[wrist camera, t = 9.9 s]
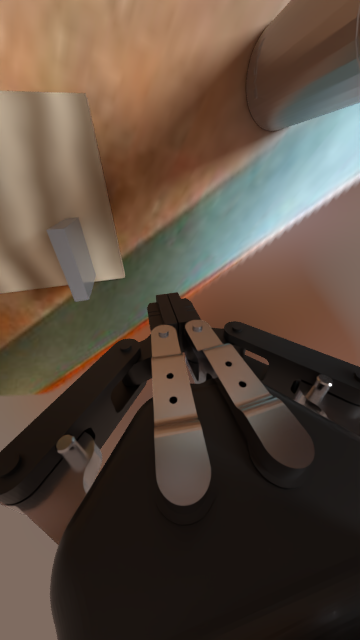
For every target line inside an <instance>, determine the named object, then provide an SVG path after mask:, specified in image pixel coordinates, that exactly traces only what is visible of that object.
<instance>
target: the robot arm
mask: <svg viewBox="0 0 360 640" xmlns="http://www.w3.org/2000/svg"><path fill="white" fill-rule="evenodd" d="M246 93H247V102H248V106H249V110H250V113H251V115H252V117H253V119H254V120H255V122H256V123H257V124H258V125H259V126H260V127H261V128H263V129H265V130H268V131H277V130H280V129H283V128H286V127H289V126H292V125H295V124H298V123H301V122H304V121H307V120H310V119H313V118H316V117H319V116H322V115H325V114H328V113H331V112H334V111H336V110H339V109H342V108H345V107H348V106H351V105H354V104H357V103H360V0H291V1H290V2H289V3H288V4H287V6H286V7H285V8H284V9H283V10H282V11H281V12H280V13H279V14H278V15H277V17H276V18H275V19H274V20H273V21H272V22H271V23H270V24H269V25H268V26H267V27H266V29H265V30H264V31H263V33H262V34H261V36H260V38H259V39H258V41H257V43H256V45H255V48H254V50H253V52H252V56H251V59H250V62H249V67H248V73H247V83H246ZM147 310H148V317H149V324H150V329H151V334H150V336H149V337H148V338H147V339H145V340H143V341H141V342H138V341H136V340H134V339H123V340H121V341H119V342H117V343H116V344H115V345H113V346H112V347H111V348H110V349H109V350H108V351H107V352H106V353H105V354H104V355H103V356H102V357H101V358H100V359H99V360H98V361H96V362H95V363H94V364H93V365H92V366H91V367H90V368H89V369H88V370H87V371H86V372H85V373H84V374H83V375H82V376H81V377H80V378H78V379H77V380H76V381H75V382H74V383H73V384H72V385H71V386H70V387H69V388H68V389H67V390H66V391H65V392H64V393H63V394H61V395H60V396H59V397H58V398H57V399H56V400H55V401H54V402H53V403H52V404H51V405H50V406H49V407H48V408H47V409H45V410H44V411H43V412H42V413H41V414H40V415H39V416H38V417H37V418H36V419H35V420H34V421H33V422H32V423H31V424H30V425H28V427H26V428H25V429H24V430H23V431H22V432H21V433H20V434H19V435H18V436H17V437H16V438H15V439H14V440H13V441H12V442H10V443H9V444H8V445H7V446H6V447H5V448H4V449H3V450H2V451H1V452H0V504H1V505H3V506H5V507H8V508H10V509H12V510H14V511H16V512H18V513H20V514H24V515H27V516H28V517H29V518H30V519H31V520H32V521H33V522H34V523H35V524H36V525H37V526H38V527H39V528H41V529H42V530H43V531H44V532H45V533H46V534H47V535H48V536H49V537H50V538H51V539H52V540H54V542H56V543H57V544H58V545H59V546H58V549H57V552H56V555H55V559H54V564H53V569H52V575H51V586H50V599H51V600H50V601H51V610H52V615H53V619H54V624H55V627H56V632H57V637H58V640H360V367H358V366H355V365H353V364H350V363H348V362H345V361H342V360H340V359H337V358H334V357H332V356H329V355H326V354H323V353H321V352H318V351H316V350H313V349H310V348H307V347H305V346H302V345H300V344H297V343H294V342H292V341H289V340H286V339H284V338H281V337H278V336H276V335H273V334H270V333H268V332H265V331H262V330H260V329H257V328H254V327H252V326H249V325H246V324H244V323H241V322H229V323H227V324H226V325H225V327H224V329H218V328H211V327H210V326H209V324H208V323H207V322H205V321H202V320H201V319H200V317H199V315H198V314H197V312H196V310H195V308H194V307H193V305H192V303H191V301H189V300H188V299H186V298H184V299H181V298H180V296H179V294H178V292H176V293H169V294H162V295H156V302H155V303H149V305H148V307H147ZM245 350H248V351H250V352H252V353H255V354H257V355H259V356H261V357H264V358H265V359H267V360H268V362H269V365H266V364H264V363H262V362H259V361H257V360H255V359H253V358H251V357H249V356H246V355H245ZM183 352H185V355H186V364H187V366H188V368H189V370H190V373H191V375H192V377H193V379H194V381H195V384H190V382H189V378H188V374H187V369H186V365H185V361H184V356H183V354H182V353H183ZM151 378H152V383H153V397H152V398H151V399H149V400H148V401H147V402H146V403H145V404H144V405H143V406H142V407H141V408H140V409H139V410H138V411H137V413H136V414H135V416H134V418H133V419H132V421H131V423H130V424H129V426H128V427H127V429H126V431H125V432H124V434H123V436H122V437H121V439H120V440H119V442H118V444H117V445H116V447H115V449H114V450H113V452H112V453H111V455H110V457H109V458H108V460H107V462H106V463H105V465H104V467H103V468H102V470H101V471H100V473H99V475H98V476H97V478H96V479H95V477H96V475H97V473H98V471H99V469H100V466H101V463H102V454H101V451H100V449H101V447H102V446H103V445H104V443H105V442H106V440H107V439H108V438H109V436H110V435H111V433H112V432H113V430H114V429H115V428H116V426H117V425H118V423H119V422H120V421H121V419H122V418H123V416H124V415H125V413H126V412H127V410H128V409H129V408H130V406H131V405H132V404H133V402H134V401H135V399H136V398H137V396H138V395H139V394H140V392H141V391H142V389H143V388H144V387H145V385H146V382H147V380H149V379H151ZM94 480H95V481H94Z"/></svg>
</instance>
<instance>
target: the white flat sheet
mask: <svg viewBox="0 0 360 640" xmlns="http://www.w3.org/2000/svg"><path fill="white" fill-rule="evenodd" d="M77 217H79V221H80V224H81V227H82V230H83V234H84V237H85V240H86V244H87V247H88V250H89V253H90V257H91V260H92V263H93V267H94V270H95V273H96V277H95V281H103V280H111V279H119V278H125V272H124V268H123V263H122V258H121V253H120V249H119V244H118V239H117V235H116V230H115V225H114V221H113V216H112V211H111V206H110V202H109V197H108V192H107V188H106V183H105V178H104V174H103V169H102V164H101V159H100V155H99V150H98V145H97V141H96V136H95V131H94V127H93V122H92V117H91V112H90V108H89V103H88V98H87V96H86V94H85V93H56V92H24V91H0V294H1V293H9V292H17V291H24V290H32V289H40V288H48V287H56V286H64V285H68V283H67V280H66V278H65V275H64V273H63V270H62V268H61V265H60V263H59V260H58V258H57V255H56V253H55V250H54V248H53V246H52V243H51V241H50V238H49V236H48V233H47V231H46V230H47V229H49V228H50V227H52V226H54V225H55V224H57V223H59V222H60V221H62V220H64V219H65V218H77ZM95 281H94V282H95Z"/></svg>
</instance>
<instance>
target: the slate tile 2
mask: <svg viewBox="0 0 360 640" xmlns="http://www.w3.org/2000/svg"><path fill="white" fill-rule="evenodd" d="M46 231H47V233H48V236H49V238H50V241H51V243H52V246H53V248H54V250H55V253H56V255H57V258H58V260H59V263H60V265H61V268H62V270H63V273H64V275H65V278H66V280H67V283H68V285H69V288H70V290H71V293H72V295H73V297H74V300H75V302H76V301H83V300H89V298H90V295H91V291H92V288H93V284H94V281H95V277H96V273H95V270H94V267H93V263H92V260H91V257H90V253H89V250H88V247H87V244H86V240H85V237H84V234H83V230H82V227H81V224H80V221H79V217H77V218H65V219H64V220H62V221H60V222H59V223H57V224H55V225H54V226H52V227H50V228H49V229H47V230H46Z"/></svg>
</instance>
